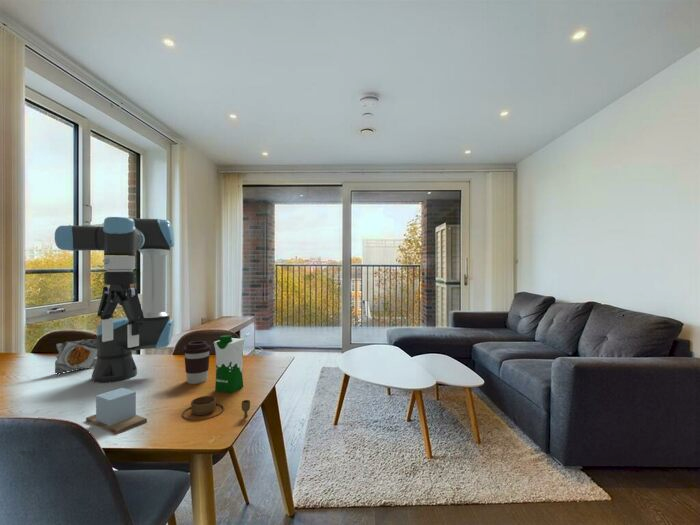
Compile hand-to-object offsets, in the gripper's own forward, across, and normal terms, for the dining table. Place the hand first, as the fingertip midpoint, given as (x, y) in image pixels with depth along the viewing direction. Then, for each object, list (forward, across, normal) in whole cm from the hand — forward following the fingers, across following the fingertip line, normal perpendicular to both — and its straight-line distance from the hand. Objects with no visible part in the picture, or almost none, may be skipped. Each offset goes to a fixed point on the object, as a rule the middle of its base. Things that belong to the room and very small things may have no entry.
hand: (120, 343), depth 101 cm
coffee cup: (+23, -10, +33) cm, 42 cm away
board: (+23, +1, -2) cm, 23 cm away
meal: (+24, -65, +17) cm, 71 cm away
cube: (+21, +1, -2) cm, 21 cm away
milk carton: (+23, +8, +33) cm, 41 cm away
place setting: (+23, +21, +14) cm, 35 cm away
